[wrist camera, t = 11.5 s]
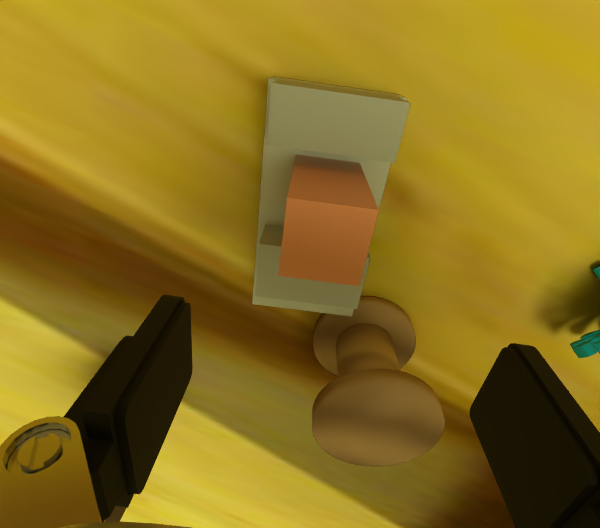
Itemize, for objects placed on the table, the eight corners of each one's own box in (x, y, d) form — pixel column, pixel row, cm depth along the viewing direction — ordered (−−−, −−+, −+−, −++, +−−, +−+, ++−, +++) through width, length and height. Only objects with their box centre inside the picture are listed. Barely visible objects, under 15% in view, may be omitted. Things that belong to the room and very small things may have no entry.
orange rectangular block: (359, 162, 22) (378, 210, 15) (347, 221, 24) (359, 286, 17) (296, 154, 22) (287, 197, 15) (289, 213, 24) (278, 275, 17)
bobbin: (397, 376, 35) (422, 472, 27) (307, 365, 35) (304, 458, 27) (425, 303, 30) (464, 392, 22) (321, 289, 30) (323, 375, 22)
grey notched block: (349, 298, 31) (355, 342, 26) (256, 286, 30) (245, 328, 26) (398, 94, 22) (420, 104, 18) (273, 76, 22) (261, 81, 18)
